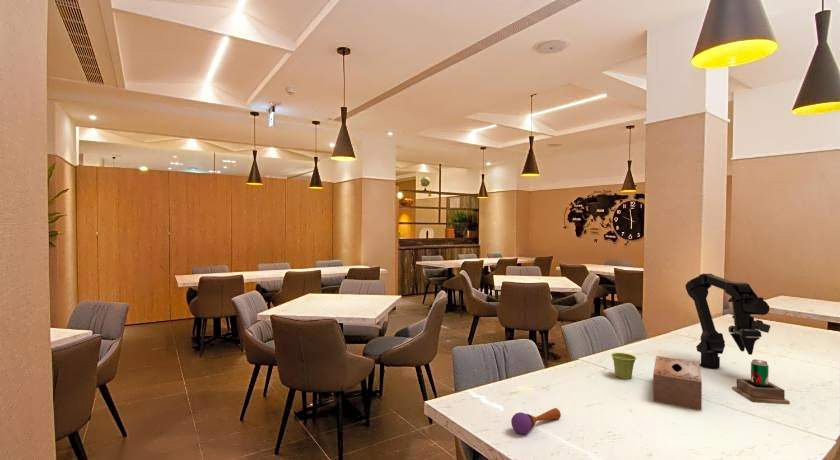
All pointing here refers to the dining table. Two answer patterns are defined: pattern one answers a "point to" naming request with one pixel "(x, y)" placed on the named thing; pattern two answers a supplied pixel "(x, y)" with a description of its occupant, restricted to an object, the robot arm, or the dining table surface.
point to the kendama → (531, 420)
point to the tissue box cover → (677, 382)
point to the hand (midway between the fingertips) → (746, 353)
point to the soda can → (759, 373)
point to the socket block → (760, 392)
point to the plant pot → (623, 364)
